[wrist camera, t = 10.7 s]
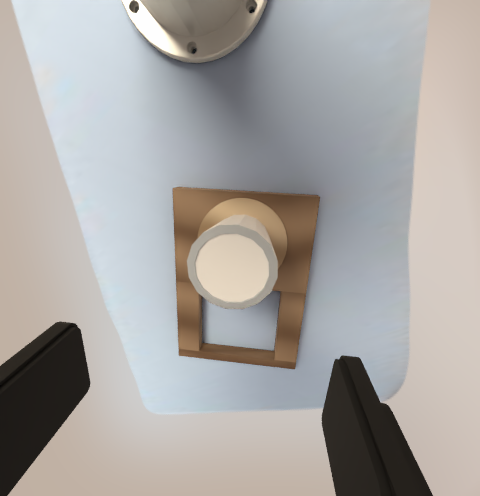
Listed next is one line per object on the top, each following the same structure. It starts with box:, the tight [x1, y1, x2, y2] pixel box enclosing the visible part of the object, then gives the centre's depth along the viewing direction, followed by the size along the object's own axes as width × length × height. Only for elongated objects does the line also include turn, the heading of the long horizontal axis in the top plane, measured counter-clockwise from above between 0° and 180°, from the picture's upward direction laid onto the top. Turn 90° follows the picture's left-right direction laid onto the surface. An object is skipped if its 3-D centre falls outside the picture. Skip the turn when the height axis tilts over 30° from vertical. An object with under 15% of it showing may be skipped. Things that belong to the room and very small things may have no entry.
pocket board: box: [173, 187, 320, 369], centre depth 28 cm, size 20×14×2 cm
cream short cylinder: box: [187, 214, 278, 309], centre depth 22 cm, size 7×7×7 cm
